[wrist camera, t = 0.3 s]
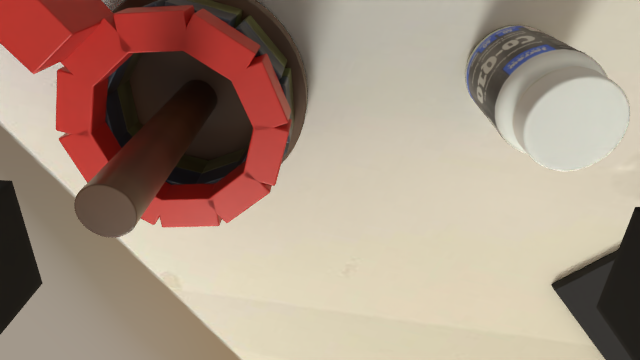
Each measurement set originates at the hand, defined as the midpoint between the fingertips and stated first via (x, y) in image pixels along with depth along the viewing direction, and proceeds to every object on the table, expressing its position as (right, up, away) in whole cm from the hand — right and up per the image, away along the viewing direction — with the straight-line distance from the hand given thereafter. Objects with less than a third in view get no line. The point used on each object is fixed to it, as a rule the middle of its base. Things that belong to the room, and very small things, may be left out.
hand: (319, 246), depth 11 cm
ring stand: (-6, +6, +16) cm, 19 cm away
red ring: (-8, +6, +12) cm, 15 cm away
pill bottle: (+10, +7, +15) cm, 20 cm away
